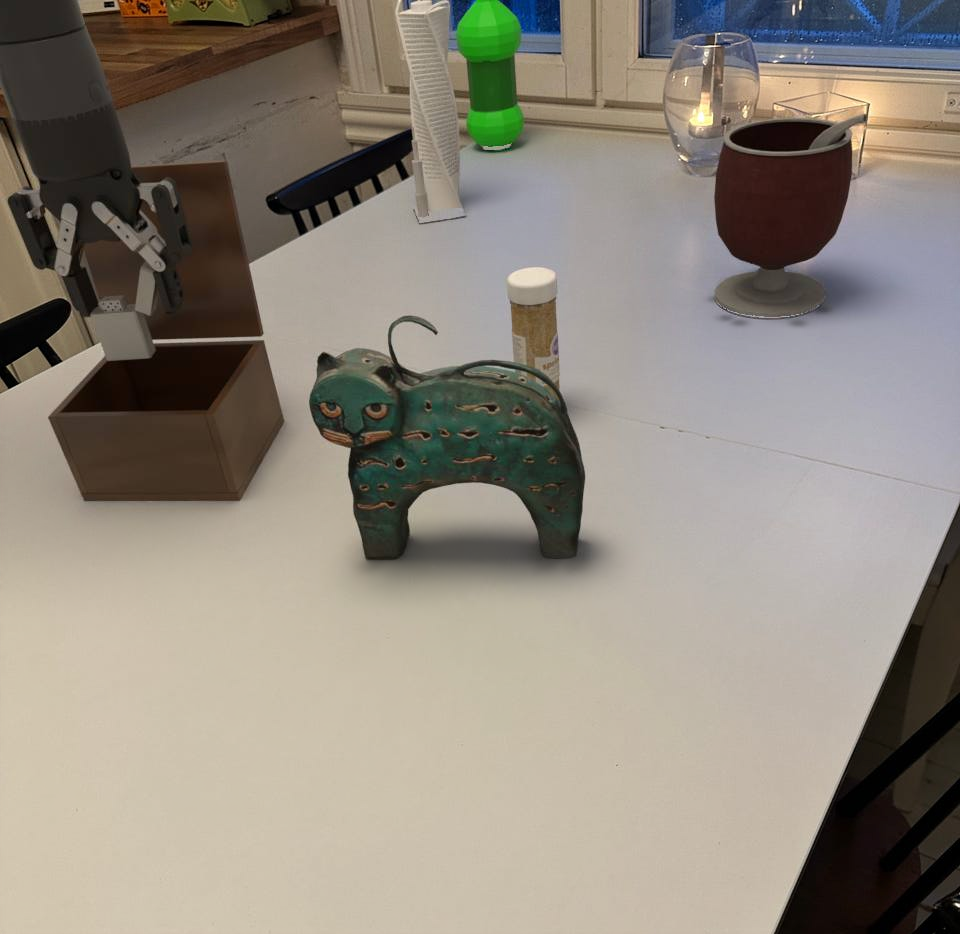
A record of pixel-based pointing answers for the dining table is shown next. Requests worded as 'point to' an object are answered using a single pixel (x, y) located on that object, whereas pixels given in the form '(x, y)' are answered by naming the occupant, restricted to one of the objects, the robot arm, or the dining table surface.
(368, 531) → the ceramic cat
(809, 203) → the mate gourd
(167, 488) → the chest
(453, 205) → the skyscraper
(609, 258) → the dining table surface
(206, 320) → the lid
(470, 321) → the dining table surface
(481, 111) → the plastic bottle
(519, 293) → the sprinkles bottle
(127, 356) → the lighter
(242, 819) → the dining table surface
